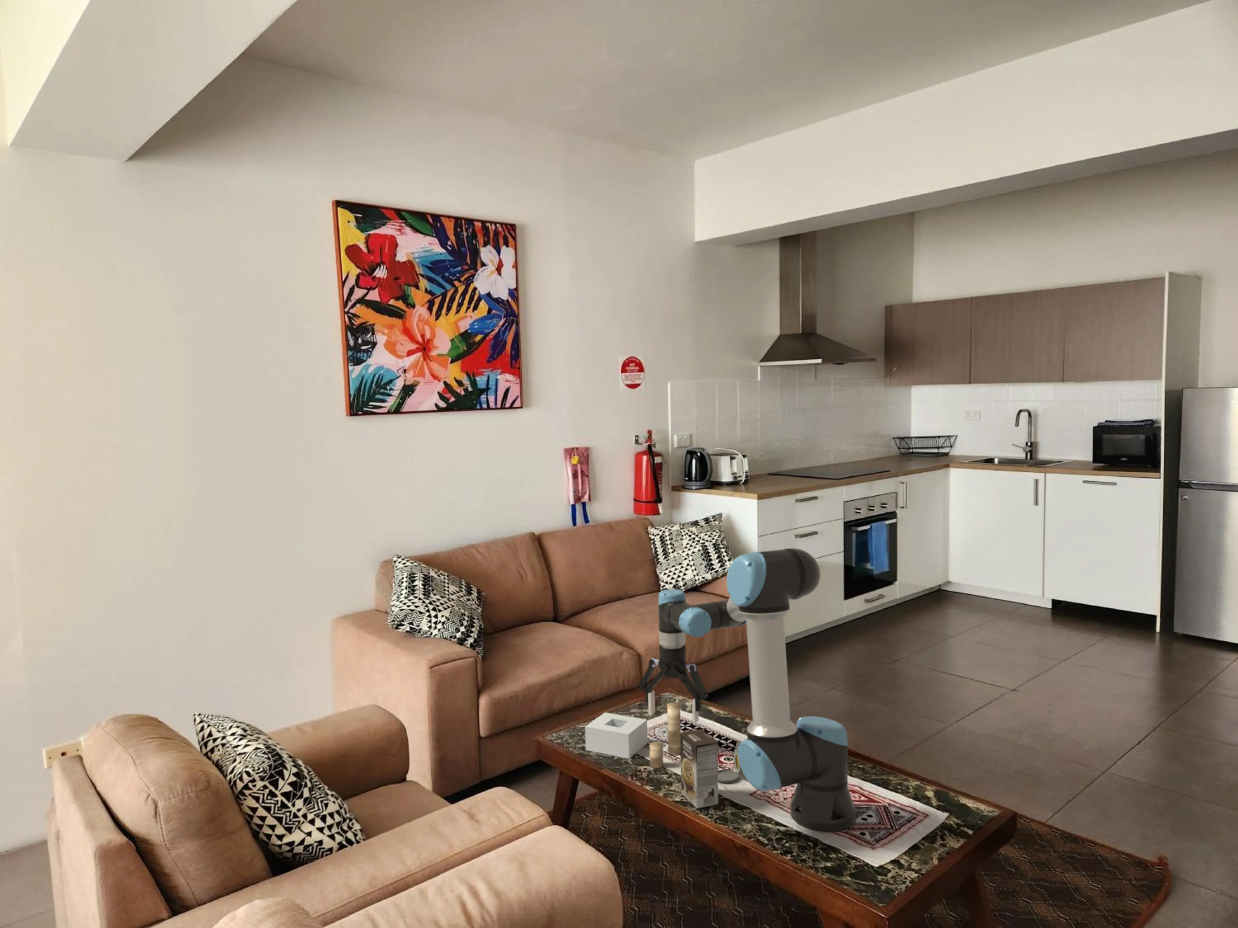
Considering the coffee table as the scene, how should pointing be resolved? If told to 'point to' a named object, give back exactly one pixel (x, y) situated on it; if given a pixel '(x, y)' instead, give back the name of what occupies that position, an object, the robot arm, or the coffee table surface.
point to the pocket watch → (731, 775)
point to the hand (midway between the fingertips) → (673, 717)
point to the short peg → (656, 755)
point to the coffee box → (699, 768)
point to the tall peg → (674, 728)
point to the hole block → (616, 735)
